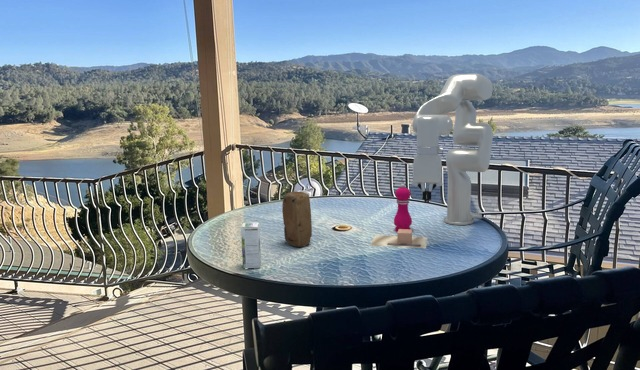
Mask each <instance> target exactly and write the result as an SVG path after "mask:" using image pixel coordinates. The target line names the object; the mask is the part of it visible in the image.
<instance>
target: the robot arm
mask: <svg viewBox="0 0 640 370" xmlns="http://www.w3.org/2000/svg"><path fill="white" fill-rule="evenodd" d="M493 89H494V87H493V83H492V81H491V80H490V79H489V78H488V77H486V76H485V75H482V74H481V73H458V74H453V75H451V76H449V77H448V78H447V80H446V82H445V84H444V85H443V87H442V89H441V91H440V92H439V94H438V96H437V95H436V97H433V98H432V99H430V100H428V101H426V102H425V103H423V104H422V105H421V106H419V108H418V110H417V111H416V112H415V115H414V117H413V119H412V125H411V126H412V127H411V128H412V130H413V132H414V133H415V135H416V154H414V157H413V162H412V163H413V164H412V182H411V186H412V187H413V186H414V187H418V189H420V190H421V191H422V200H424V203H430V201H431V200H432V191H433V190H434V189H435V188H438V187H442V186H443V181H442V179H443V169H442V168H443V166H442V164H443V163H442V162H443V161H442V156H441V154H439V153H441V152H443V148H442V147H439V140H440V139H439V137H440V136H446V135H449V134H450V133H451V131H452V130H453V133H452V141H453V143H454V144H455V145H457V146H460V147H457V148H456V147H455V148H450V149H449V150H448V151H447V152H446V153H445V162H446V163H445V164H446V173H447V201H446V203H447V204H446V205H447V207H446V208H447V209H446V213H447V214H446V216H444V217H443V219H442V220H443V222H444V223H445V224H449V225H455V226H467V225H472V224H474V222H475V219H477V220H479V219H482V218H483V217H482V213H477V212H476V213H475V212H474V213H473V212H472V210H471V206H472V205H471V202H472V201H471V198H472V196H471V195H472V181H471V177H470V176H469V174H468V173H469V172H472V173H473V172H474V173H485V172H486V171H488V169H489V167H490V163H491V156H492V148H493V147H492V146H493V137H494V133H493V127H492V126H491V125H490V124H488V123H484V122H483V123H482V122H477V117H478V116H477V115H478V114H477V113H478V112H477V110H476V108H475V107H474V105H473V103H472V102H470V101H486V100H489V99H490V98H491V96H492V94H493ZM454 111H455V118H454V122H453V119H452V118H451V117H450V115H447V114H449V113H451V112H454ZM476 122H477V123H476ZM453 124H454V125H453ZM461 146H463V147H464V148H463V147H461ZM465 147H468V148H465ZM469 147H477V148H469ZM467 172H468V173H467ZM426 184H429V185H428V188H426Z"/></svg>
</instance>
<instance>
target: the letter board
mask: <svg viewBox="0 0 640 370" xmlns="http://www.w3.org/2000/svg"><path fill="white" fill-rule="evenodd" d="M427 243H428V237H425V236H412V242H411V244H402V243H397V235H386V234H385V235H383V234H380V235H378V234H375V235H374V237H373V239H372V241H371V243H370V246H372V247H373V246H374V247H393V248H394V247H395V248H413V249H427Z"/></svg>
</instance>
